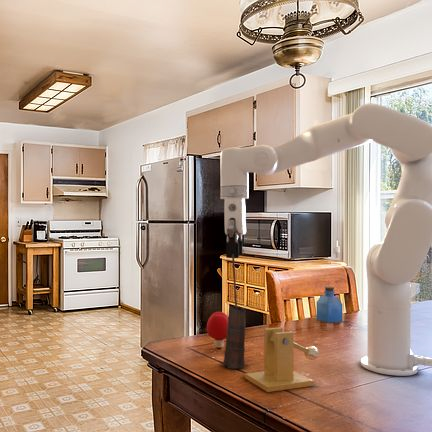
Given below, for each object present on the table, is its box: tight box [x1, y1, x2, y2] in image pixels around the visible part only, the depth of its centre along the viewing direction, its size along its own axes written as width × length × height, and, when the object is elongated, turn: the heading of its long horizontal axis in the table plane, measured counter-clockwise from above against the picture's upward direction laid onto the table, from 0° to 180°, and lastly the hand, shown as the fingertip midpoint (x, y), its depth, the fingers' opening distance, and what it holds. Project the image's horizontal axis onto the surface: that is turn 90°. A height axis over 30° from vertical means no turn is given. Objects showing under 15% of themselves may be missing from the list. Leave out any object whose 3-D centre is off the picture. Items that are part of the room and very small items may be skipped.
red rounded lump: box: [206, 311, 228, 350], centre depth 134 cm, size 9×7×10 cm
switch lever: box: [270, 330, 320, 361], centre depth 109 cm, size 13×3×3 cm, turn 109°
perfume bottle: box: [315, 286, 343, 324], centre depth 170 cm, size 6×6×12 cm
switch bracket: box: [244, 326, 314, 393], centre depth 107 cm, size 12×9×12 cm
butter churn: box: [223, 254, 247, 370], centre depth 118 cm, size 9×10×28 cm
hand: (234, 256), depth 128 cm, fingers open, 9 cm apart
